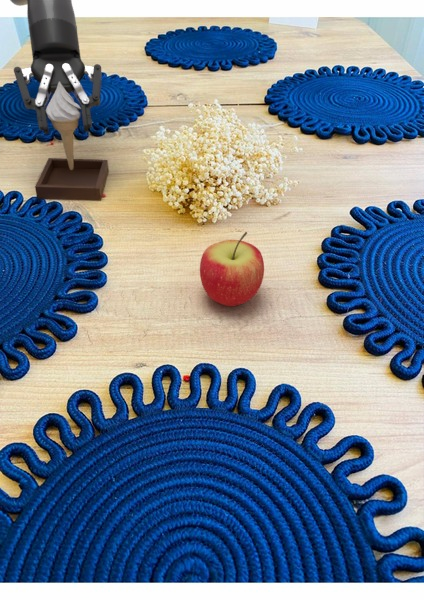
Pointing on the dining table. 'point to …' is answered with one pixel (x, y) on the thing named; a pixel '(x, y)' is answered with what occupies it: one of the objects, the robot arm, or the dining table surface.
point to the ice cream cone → (64, 119)
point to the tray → (72, 179)
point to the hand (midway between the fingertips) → (66, 130)
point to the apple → (231, 271)
